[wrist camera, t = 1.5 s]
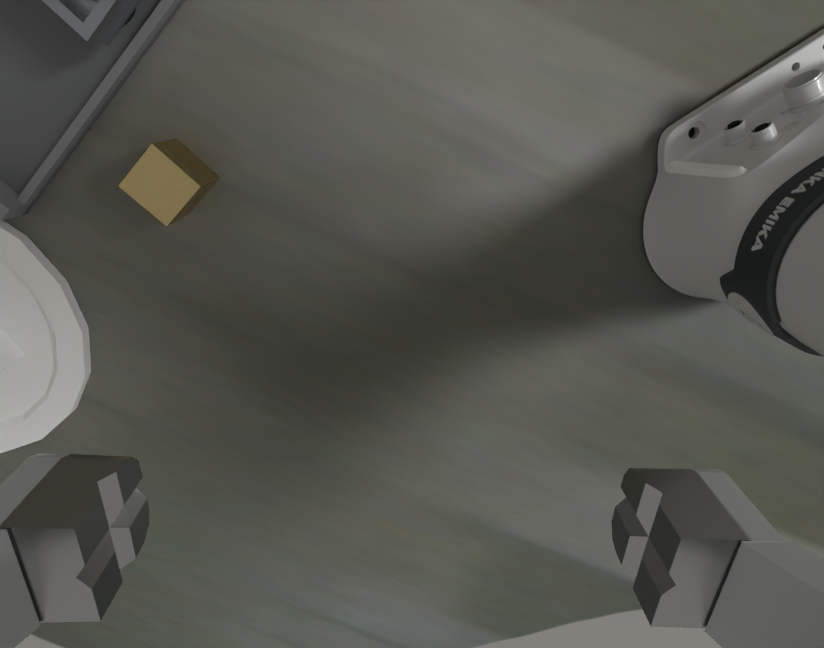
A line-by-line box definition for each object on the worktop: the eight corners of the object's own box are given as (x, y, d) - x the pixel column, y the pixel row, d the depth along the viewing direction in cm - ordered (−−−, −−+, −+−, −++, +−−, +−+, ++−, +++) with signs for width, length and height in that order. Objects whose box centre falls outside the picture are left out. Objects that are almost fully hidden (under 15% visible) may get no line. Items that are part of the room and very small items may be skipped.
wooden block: (177, 138, 40) (151, 143, 36) (220, 177, 41) (200, 186, 37) (146, 177, 41) (118, 186, 37) (188, 213, 42) (166, 226, 38)
